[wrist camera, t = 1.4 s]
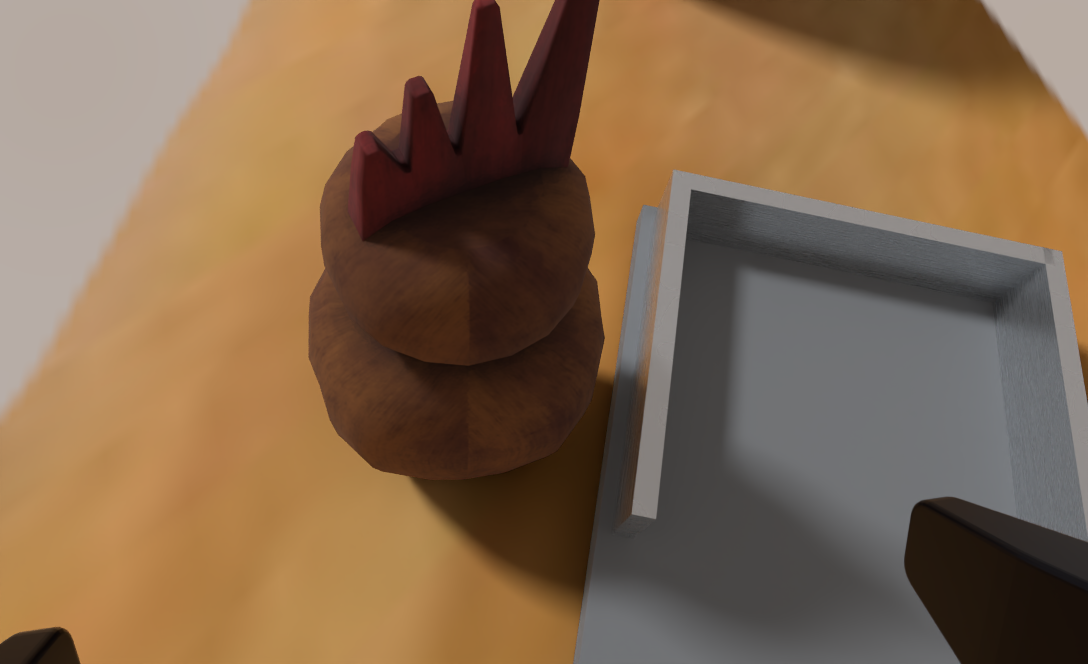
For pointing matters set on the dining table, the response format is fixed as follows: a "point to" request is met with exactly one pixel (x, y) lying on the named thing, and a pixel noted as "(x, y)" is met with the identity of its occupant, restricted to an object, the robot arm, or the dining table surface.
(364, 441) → the wooden figurine
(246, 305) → the dining table surface
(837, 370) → the grey shallow rectangular tray
